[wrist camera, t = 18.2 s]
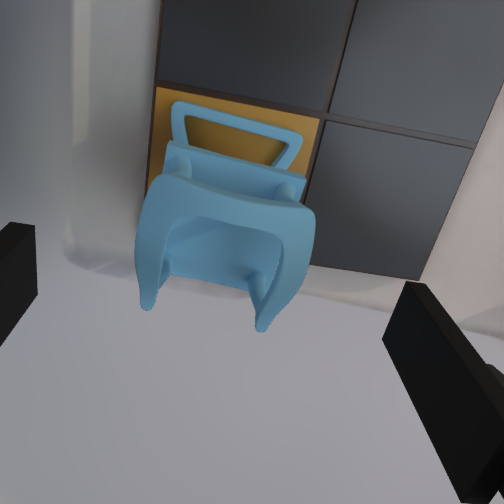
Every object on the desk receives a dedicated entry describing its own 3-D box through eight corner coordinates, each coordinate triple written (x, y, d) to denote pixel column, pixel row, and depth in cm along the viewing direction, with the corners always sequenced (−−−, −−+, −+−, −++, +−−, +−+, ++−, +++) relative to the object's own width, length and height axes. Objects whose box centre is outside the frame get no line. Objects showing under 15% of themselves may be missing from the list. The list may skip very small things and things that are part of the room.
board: (175, -138, 21) (172, -147, 20) (545, -41, 23) (560, -44, 22) (143, 233, 30) (139, 240, 28) (413, 274, 32) (420, 282, 31)
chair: (151, 226, 28) (103, 346, 17) (174, 97, 24) (132, 147, 14) (264, 251, 29) (284, 378, 19) (302, 132, 26) (354, 202, 15)
